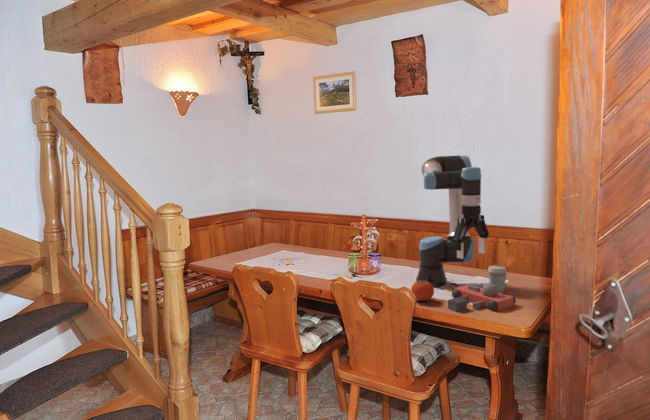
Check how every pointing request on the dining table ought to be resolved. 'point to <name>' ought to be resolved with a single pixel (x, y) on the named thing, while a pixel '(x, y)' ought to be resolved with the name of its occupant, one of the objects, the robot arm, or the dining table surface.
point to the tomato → (422, 290)
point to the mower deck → (485, 296)
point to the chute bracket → (476, 304)
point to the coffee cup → (498, 276)
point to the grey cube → (457, 304)
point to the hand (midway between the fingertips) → (471, 255)
